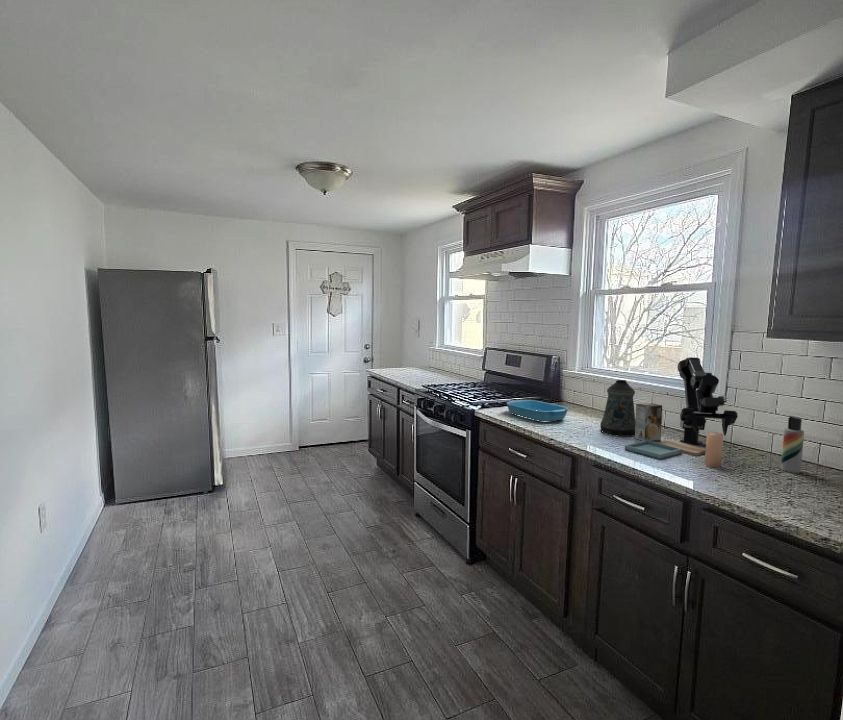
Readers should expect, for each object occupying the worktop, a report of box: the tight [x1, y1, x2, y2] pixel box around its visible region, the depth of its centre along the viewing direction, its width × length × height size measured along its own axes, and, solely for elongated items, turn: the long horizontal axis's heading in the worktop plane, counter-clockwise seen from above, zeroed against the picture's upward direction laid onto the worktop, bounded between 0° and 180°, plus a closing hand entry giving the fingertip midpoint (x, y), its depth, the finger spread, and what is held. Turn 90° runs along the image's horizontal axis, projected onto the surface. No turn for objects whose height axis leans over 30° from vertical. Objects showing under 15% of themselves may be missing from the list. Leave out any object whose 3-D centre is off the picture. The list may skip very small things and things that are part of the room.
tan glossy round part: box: [704, 431, 724, 468], centre depth 175 cm, size 5×5×12 cm
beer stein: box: [599, 379, 636, 437], centre depth 226 cm, size 16×19×25 cm
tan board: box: [658, 439, 706, 457], centre depth 197 cm, size 11×17×1 cm, turn 32°
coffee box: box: [634, 402, 663, 442], centre depth 212 cm, size 9×6×16 cm
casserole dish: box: [506, 399, 569, 422], centre depth 258 cm, size 37×22×7 cm, turn 29°
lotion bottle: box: [780, 415, 805, 474], centre depth 169 cm, size 6×6×20 cm
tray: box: [624, 440, 682, 460], centre depth 193 cm, size 15×15×2 cm
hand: (711, 434), depth 179 cm, fingers open, 9 cm apart
